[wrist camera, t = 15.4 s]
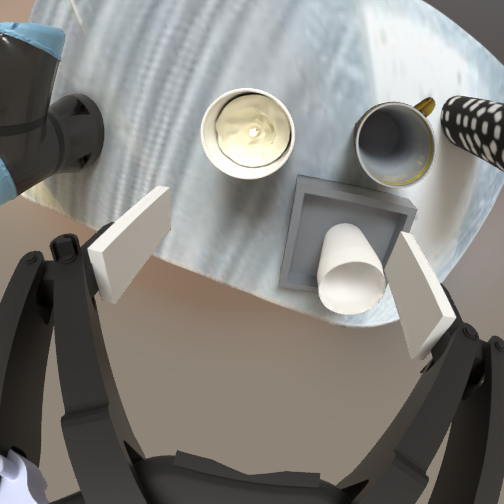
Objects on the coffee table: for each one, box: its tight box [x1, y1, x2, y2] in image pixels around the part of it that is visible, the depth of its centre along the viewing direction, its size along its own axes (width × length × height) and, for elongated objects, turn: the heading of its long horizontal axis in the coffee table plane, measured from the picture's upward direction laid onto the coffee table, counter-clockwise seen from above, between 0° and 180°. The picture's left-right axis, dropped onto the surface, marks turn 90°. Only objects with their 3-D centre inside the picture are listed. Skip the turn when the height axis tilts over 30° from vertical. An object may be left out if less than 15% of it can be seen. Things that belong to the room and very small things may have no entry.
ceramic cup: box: [355, 97, 436, 188], centre depth 29 cm, size 13×10×10 cm
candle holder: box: [200, 88, 295, 179], centre depth 31 cm, size 10×10×12 cm
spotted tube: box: [441, 96, 504, 172], centre depth 21 cm, size 8×8×20 cm
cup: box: [317, 223, 386, 315], centre depth 38 cm, size 9×9×12 cm
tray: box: [278, 175, 417, 303], centre depth 42 cm, size 18×18×4 cm
